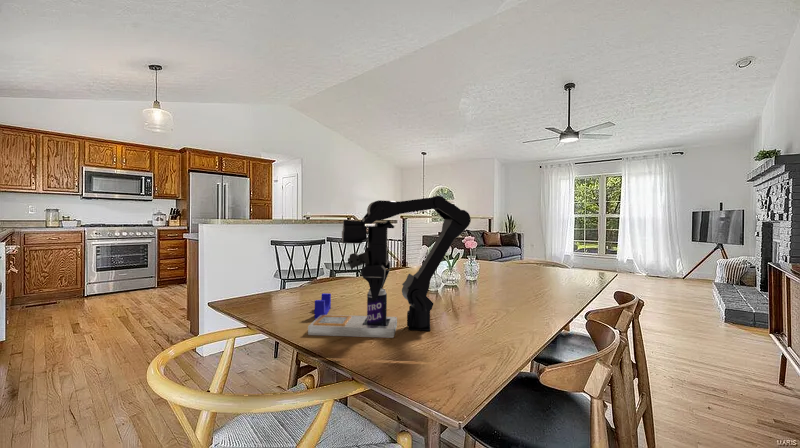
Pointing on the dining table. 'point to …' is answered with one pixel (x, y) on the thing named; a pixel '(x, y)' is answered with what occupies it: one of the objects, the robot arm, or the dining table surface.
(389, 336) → the grey rectangular slab
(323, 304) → the cable clip
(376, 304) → the beverage can
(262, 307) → the dining table surface
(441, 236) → the robot arm
